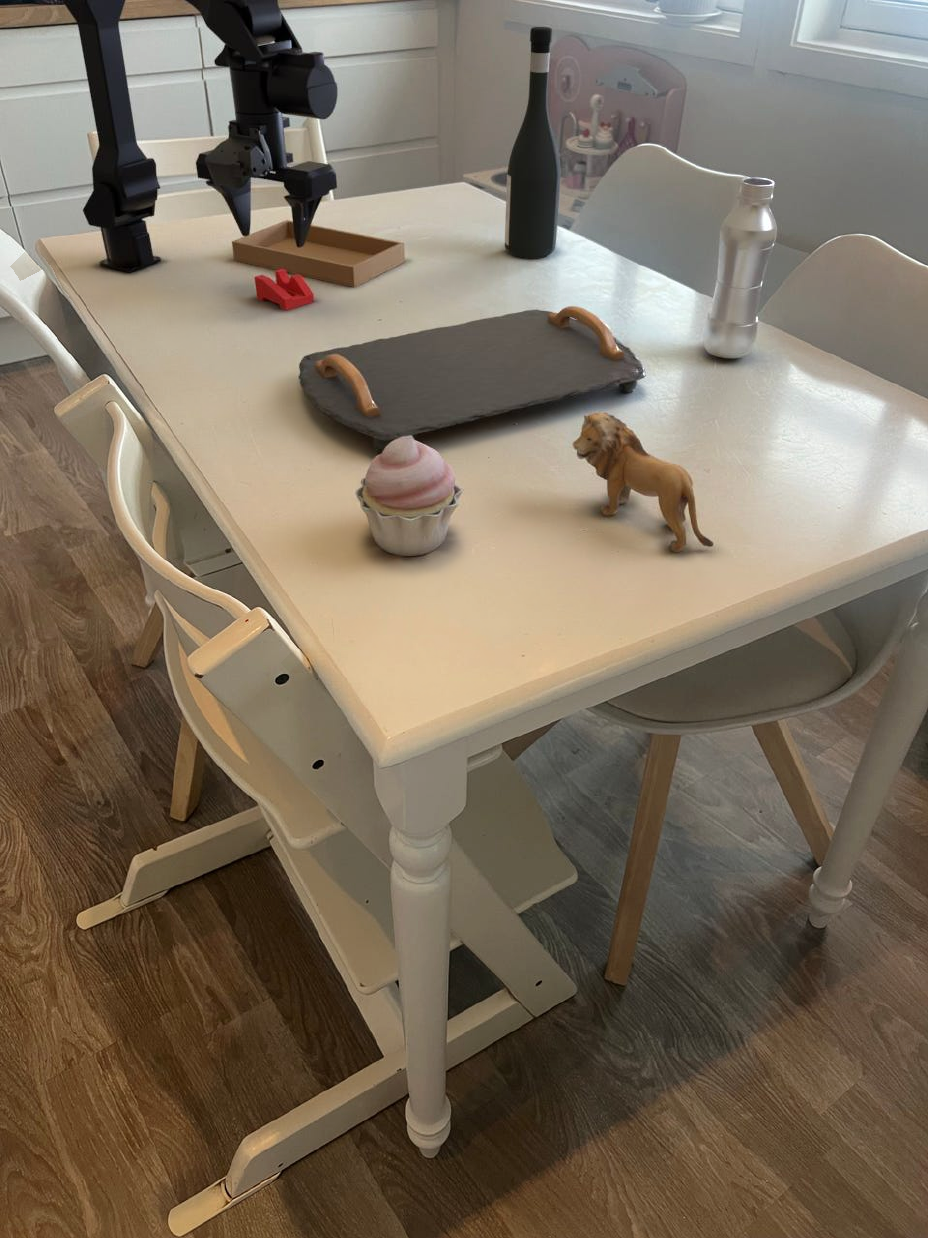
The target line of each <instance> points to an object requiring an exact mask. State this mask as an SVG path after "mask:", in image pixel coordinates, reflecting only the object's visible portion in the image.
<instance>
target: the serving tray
mask: <svg viewBox="0 0 928 1238" xmlns="http://www.w3.org/2000/svg"><path fill="white" fill-rule="evenodd" d="M298 368H299V375H298V380H299V385H300V386H301V388H302V389H303V393H304V396H305V397H306V398H307V399H308V400H309V401H310V402H311V403H312V405H314V406H315V407H316V408H317V409H318V410H319V411H320V412H321V413H323V414H325V415H327V416H328V418H330V419H332V420H333V421H336V422H338V423H339V424H342V425H344V426H345V427H347V428H349V429H351V430H354V431H356V432H359V433H361V434H364V435H366V436H369V437H370V438H373V443H372V444H373V448H374V449H375V451H376V452H377V454H378V455H380V454H382V452H383V450H384V449H385V447H386V446H387V445H388V444H389V443H391V442H392V441H394V440H396V439H398V438H401V437H403V436H404V437H405V436H410V435H411V436H412V437H413V436H415V435H419V434H424V433H428V432H431V431H437V430H441V429H444V428H448V427H452V426H456V425H460V424H465V423H468V422H469V423H470V422H473V421H476V420H479V419H484V418H489V417H492V416H497V415H502V414H505V413H509V412H513V411H516V410H521V409H527V408H529V407H533V406H538V405H542V404H545V403H549V402H552V401H559V400H562V399H565V398H571V397H574V396H577V395H582V394H585V393H589V392H595V391H598V390H602V389H606V388H610V387H614V386H618V388H619V390H620V392H621V393H623V394H631V393H633V392H634V390H635V389H636V388H637V385H638V381H639V380H641V379H644V378H646V376H647V374H646V370H645V368H644V365H643V363H642V362H641V361H640V359H638V357H637V356H636V354H635V353H634V352H633V351H632V350H631V348H630V347H628V346H625V344H623V343H622V342H621V341H619V340H618V339H617V338H616V337H615V336H614V335H613V333H612V331H611V329H610V327H609V326H608V325H607V323H606V322H605V321H603V319H601V318H600V317H599V316H597V315H596V314H595V313H593V312H591V311H589V310H588V309H586V308H583V307H581V306H576V305H569V306H566V307H563V308H562V309H561V310H559V311H558V312H553V311H549V310H540V309H529V310H522V311H519V312H513V313H512V312H511V313H507V314H503V315H499V316H493V317H492V316H491V317H486V318H480V319H475V320H471V321H467V322H465V323H460V324H455V325H449V326H440V327H435V328H430V329H425V330H420V331H417V332H411V333H410V332H409V333H407V334H402V335H397V336H391V337H390V336H389V337H387V338H378V339H375V340H370V341H366V342H363V343H360V344H359V343H358V344H352V345H349V346H345V347H344V346H343V347H336V348H332V349H328V350H323V351H316V352H313V353H310V354H309V353H308V354H306V355H304V356H303V357H302V358H301V359H300V362H299V364H298Z"/></svg>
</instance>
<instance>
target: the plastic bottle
mask: <svg viewBox="0 0 928 1238" xmlns="http://www.w3.org/2000/svg"><path fill="white" fill-rule="evenodd" d="M774 188H775V181H774V180H773V179H772V180H771V179H769V178H764V177H746V178H743V179H742V180H741V182H740V188H739V192H738V194H737V199H738V200H739V202H738V203H737V205H736V206H735V207H734V208H733V209H732V210H731V211H730V212H729V214H727V216H726V218H725V219H724V220H723V223H722V225H721V227H720V229H719V244H718V245H719V247H718V266H717V272H716V275H717V277H716V283H715V288H714V292H713V296H712V300H711V304H710V308H709V312H708V315H707V316H706V319H705V322H704V325H703V329H702V345H703V347H704V349H705V351H706V352H707V353H708V354H710V355H712V356H715V357H717V358H718V357H719V358H723V359H738V358H743V357H745V356H747V355H748V354H749V353H750V352H751V351H752V349H753V347H754V345H755V342H756V339H757V336H758V312H759V304H760V296H761V290H762V286H763V281H764V278H765V274H766V269H767V267H768V263H769V260H770V257H771V254H772V251H773V248H774V246H775V243H776V239H777V236H778V227H777V222H776V219H775V217H774V214H773V211H772V210H771V208H770V203H771V202H772V201H773V198H774V195H773V194H774Z"/></svg>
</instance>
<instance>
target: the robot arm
mask: <svg viewBox="0 0 928 1238" xmlns="http://www.w3.org/2000/svg"><path fill="white" fill-rule="evenodd" d="M126 1H127V0H61V2H62V3H63V5H64V6H65V7H66V9H67V10H68V11H69V14H71V16H72V17H73V19H74V20H75V21H76V23H77V28H78V33H79V39H80V45H81V49H82V56H83V61H84V62H83V63H84V67H85V72H86V78H87V84H88V89H89V96H90V101H91V106H92V113H93V117H94V123H95V128H96V134H97V139H98V148H97V150H96V154H95V157H94V160H93V163H92V166H91V172H92V173H91V176H92V190H93V191H92V192H91V194H90V196H89V198H88V199H87V201H86V203H85V205H84V207H83V209H82V212H83V214H84V217H85V219H86V222H87V224H88V225H89V226H92V227H96V228H100V232H101V237H102V242H103V246H104V251H105V256H106V258H105V259H102V260H100V261H99V266H101V267H105V268H111V269H113V270H117V271H122V272H126V273H133V272H136V271H139V270H142V269H144V268H147V267H149V266H151V265H154V264H157V263H160V262H161V261H162V259H161V257H160V256H157V255H154V253H153V252H154V251H153V247H152V242H151V235H150V233H149V231H148V227H147V221H146V220H144V219H146V218H149V217H150V218H151V217H154V216H155V211H156V201H157V200H158V197H159V193H158V192H159V191H158V190H160V189H161V185H160V183H159V180H158V176H157V163H156V161H155V159H154V158H153V157H147V156H146V154H145V153H144V152H143V150H142V148H140V146H139V145H138V142H137V136H136V130H135V124H134V116H133V109H132V103H131V98H130V97H131V95H130V90H129V83H128V78H127V72H126V64H125V59H124V53H123V52H124V51H123V46H122V39H121V32H120V20H121V17H122V12H123V10H124V7H125V3H126ZM184 1H185V2H186V3H188V4H189V5H191V6H192V7H193V8H195V9H196V10H197V12H199V13H200V15H201V17H202V20H203V22H204V24H205V26H206V28H208V29H209V30H210V31H211V32H212V33H213V34H214V36H216V37H217V38H218V39H219V40H220V41H221V42H222V43H223V44H224V45H223V46H224V47H223V48H222V50H221V52H220V53H219V54H218V55H217V56H216V57H215V59H214V60H213V64H214V65H215V66H216V67H222V68H223V67H224V68H229V76H230V83H231V91H232V92H231V93H232V100H233V109H234V116H235V119H232V120H229V121H228V126H227V129H228V138H226V139H225V140H223V141H221V142H220V143H219V144H218V145H217V146H215V148H213V149H210V150H208V151H203V152H200V153H198V156H197V158H196V160H195V168H196V173H197V178H198V179H202V180H205V184H206V185H207V186H208V187H211V188H213V189H214V190H216V191H217V192H218V193H219V194H220V195H221V196H222V197H223V199H224V201H225V203H226V205H227V206H228V209H229V210H230V212H231V214H232V217H233V219H234V221H235V224H236V226H237V227H238V229H239V231H240V235H241V236H242V237H245V236H248V235H250V234H251V222H252V179H261V180H266V181H272V182H279V183H283V187H284V189H285V190H286V192H287V193H288V194H286V195H284V196H283V199H284V200H285V202H286V203H287V204H288V205H289V206H290V208H291V218H292V221H293V228H294V236H295V241H296V246H297V247H298V248H300V247H303V246H304V244H305V241H306V238H307V235H308V232H309V229H310V226H311V225H312V223H313V220H314V218H315V215H316V212H317V210H318V208H319V207H320V206H319V205H320V204H321V202H322V199H323V197H325V196H327V195H329V194H330V191H333V190H336V189H338V182H337V173H336V170H335V169H334V168H333V166H332V165H331V164H329V163H323V162H317V161H310V160H308V161H304V162H301V163H299V164H295V165H293V166H288V164H291V163H294V154H293V153H292V152H287V150H286V148H287V147H286V138H285V129H287V128H289V127H291V122H290V117H286V116H283V115H289V116H295V117H302V118H310V119H318V120H327V119H328V118H329V117H331V116H332V114H333V113H334V110H335V108H336V105H337V102H338V89H339V88H338V83H337V81H336V79H335V76H334V74H333V71H332V70H331V68H330V67H329V66H328V65H326V64H325V54H324V53H323V52H321V51H311V52H304V51H303V47H302V46H301V44H300V42H299V41H298V39H297V37H296V35H295V34H294V32H293V30H292V28H291V26H290V25H289V23H288V22H287V21H288V20H286V18H285V16H284V14H283V13H282V11H281V9H280V7H279V0H184Z"/></svg>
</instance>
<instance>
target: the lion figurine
mask: <svg viewBox="0 0 928 1238" xmlns="http://www.w3.org/2000/svg"><path fill="white" fill-rule="evenodd" d="M583 419H584V420H583V424H582V426H581V432H580V435H579V437H578V438H577V439H575V440H574V441H573V442H572V447H573V449H574V450H575V451H576V457H577V458H578V459H579V460H584V459H585V460H586V462H587V464H589V465H590V466H592V467H593V468H595V474H596V475H597V476H598V477H599V478H602V479H603V480H604V481H606V490H607V497H608V500H609V501H608V503H609V505H604V506H602V507H601V513H602V515H603V516H609V517H610V516H613V515H615V514H617V513H618V511H619V509H620V504H626V503H627V502H629V500H630V495H631V491H632V490H633V491H634V492H636V493H638V494H640V495H641V496H644V497H649V498H650V497H651V498H653V497H654V498H655V497H656V498H657V497H658V498H657V499H658V500H657V501H658V505H659V509H660V512H661V514H662V518H663V519H664V521H665V522H666V524H667V526H668V527H669V528H670V529H671V531H672V533H673V534H674V536H675V540H674V539H673V540H671V541H670V544H669V549H670V550H671V551H672V552H675V553H679V552H681V551H683V550H684V549H685V547H686V545H687V533H686V532H687V531H686V527H685V526H684V523H685V522H686V519H687V518H686V513H685V512H686V508H687V507H688V514H689V518H690V524H691V529H692V531H693V534H694V535H695V537H696V539H697V540H698V542H699V543H700V544H701V545H702V546H704V547H708V548H712V547H713V546H714V542H713V541H712V540H710V538H708V537H707V536H705V535H704V534H702V533H701V531H700V529H699V525H698V520H697V513H696V512H697V509H696V498H695V494H694V487H693V486H694V483H693V482H694V481H693V479H692V476H691V475H690V473H689V472H688V471H687V470H686V468H685V467H683V466H681V465H680V464H677V463H672V462H667V461H665V460H662V459H660V458H657V457H655V456H653V455H652V454H650V453H648V452H647V451H646V450H645V449H644V447H643V445H642V443H641V440H640V438H639V437H638V436H637V434H636V433H635V432H634V430H632V429H630V428H629V427H628V425H627V424H626V423H624V422H622V421H621V419H619V418H616V417H615V416H614V414H613V415H612V414H609V413H607V412H603V411H595V412H593V413H588V414H585V415H583Z"/></svg>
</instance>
